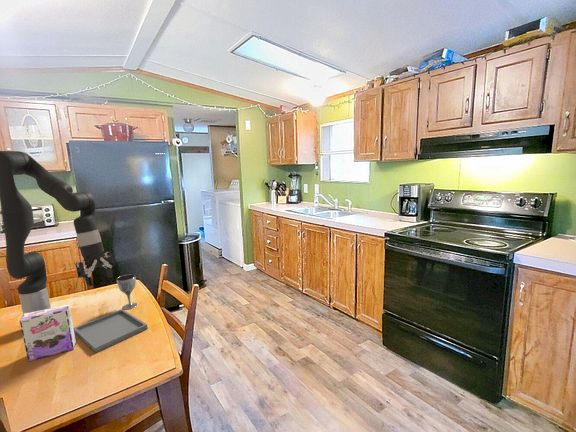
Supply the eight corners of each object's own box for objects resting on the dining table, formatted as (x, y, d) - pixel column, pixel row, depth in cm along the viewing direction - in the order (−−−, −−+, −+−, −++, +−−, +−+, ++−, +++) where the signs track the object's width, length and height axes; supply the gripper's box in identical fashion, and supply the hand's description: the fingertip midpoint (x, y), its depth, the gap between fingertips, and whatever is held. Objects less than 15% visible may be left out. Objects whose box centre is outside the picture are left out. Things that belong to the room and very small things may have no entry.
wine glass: (131, 310, 141) (127, 281, 138) (117, 309, 143) (112, 280, 140) (142, 302, 149) (138, 274, 146) (128, 301, 150) (124, 273, 147)
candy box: (27, 362, 106) (18, 320, 103) (32, 353, 111) (23, 312, 108) (74, 350, 112) (66, 309, 109) (76, 341, 117) (69, 303, 114)
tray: (74, 332, 124) (73, 328, 124) (122, 312, 139) (122, 309, 139) (95, 353, 109) (94, 348, 109) (147, 328, 125) (147, 324, 124)
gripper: (100, 238, 124) (109, 275, 126) (65, 248, 110) (77, 289, 113) (113, 237, 121) (122, 274, 124) (79, 247, 108) (90, 289, 110)
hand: (100, 281), depth 118 cm, fingers open, 8 cm apart
